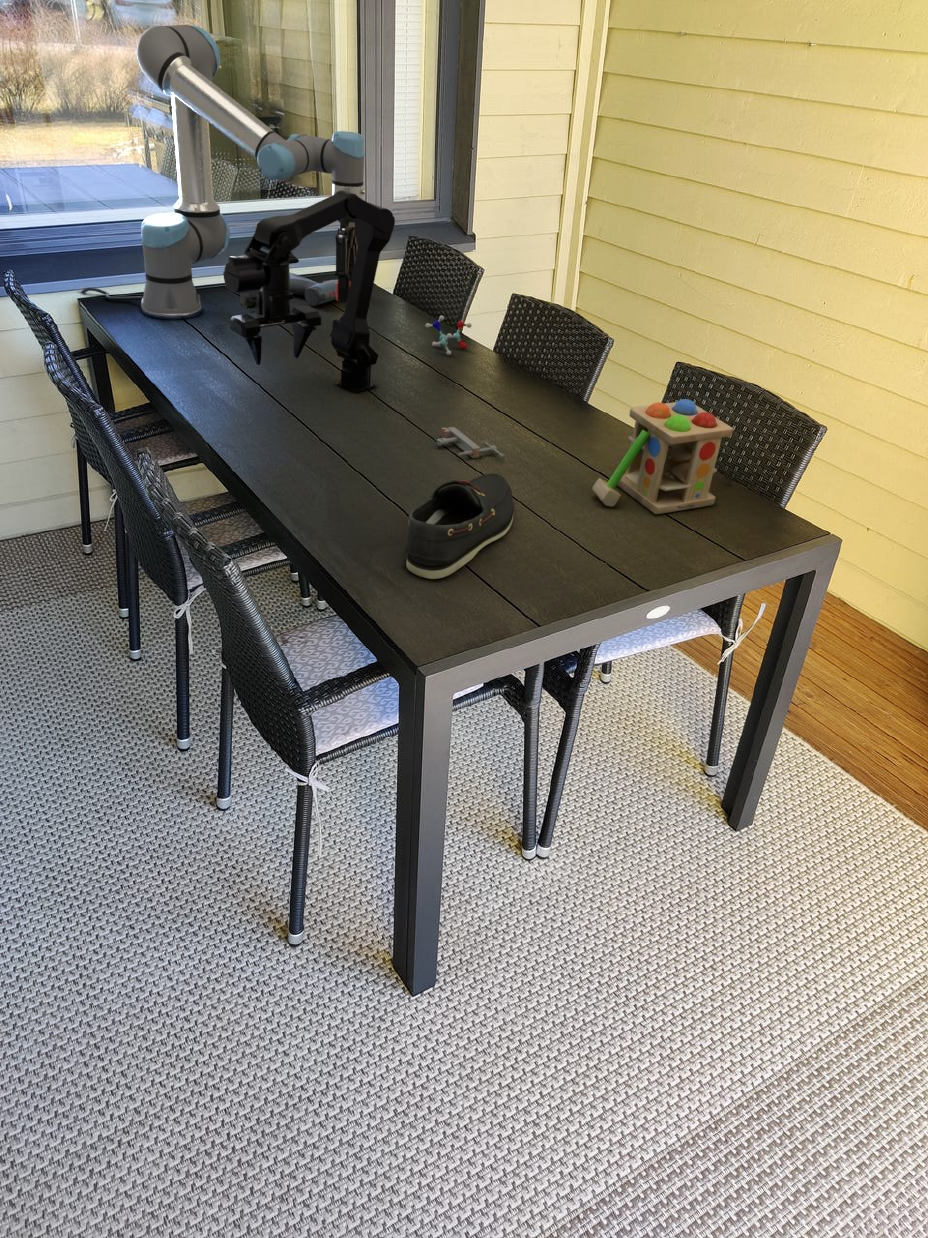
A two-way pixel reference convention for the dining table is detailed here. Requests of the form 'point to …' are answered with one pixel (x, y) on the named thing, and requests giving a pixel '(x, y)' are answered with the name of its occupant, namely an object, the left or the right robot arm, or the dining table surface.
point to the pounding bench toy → (668, 458)
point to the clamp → (464, 443)
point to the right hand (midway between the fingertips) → (277, 360)
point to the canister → (337, 289)
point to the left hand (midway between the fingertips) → (346, 298)
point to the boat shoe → (457, 524)
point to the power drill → (313, 289)
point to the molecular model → (448, 335)
